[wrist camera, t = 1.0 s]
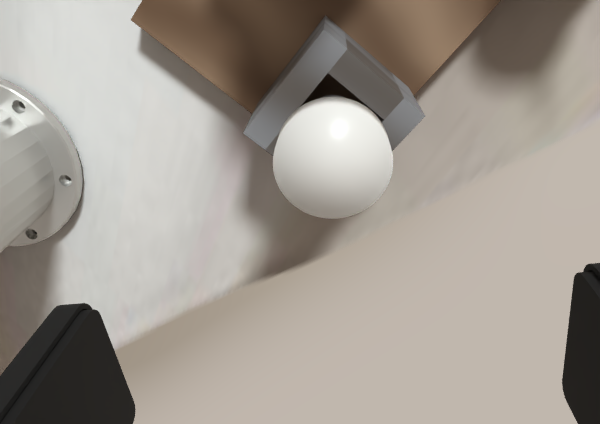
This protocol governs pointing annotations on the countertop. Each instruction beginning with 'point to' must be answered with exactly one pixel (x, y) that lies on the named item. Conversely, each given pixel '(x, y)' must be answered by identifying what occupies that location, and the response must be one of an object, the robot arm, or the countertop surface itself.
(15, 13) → the countertop surface
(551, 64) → the countertop surface
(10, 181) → the robot arm
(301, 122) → the white round part
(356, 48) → the board
